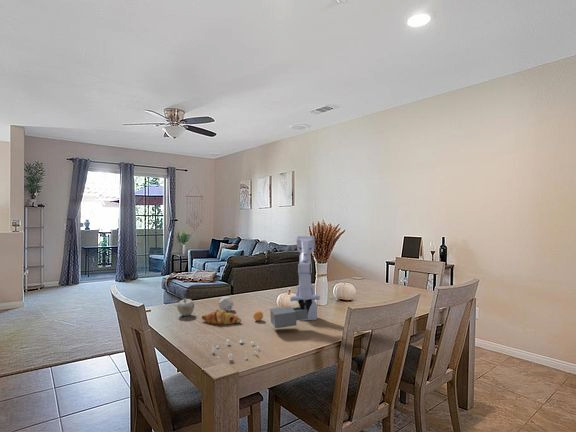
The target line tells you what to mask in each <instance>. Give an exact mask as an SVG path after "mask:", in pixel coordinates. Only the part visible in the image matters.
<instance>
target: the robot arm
mask: <svg viewBox="0 0 576 432" xmlns="http://www.w3.org/2000/svg"><path fill="white" fill-rule="evenodd" d="M315 241H316V239H315V236H314V235H297V236H296V249H297V252H298V253H299V263H298V264H297V266H298V267H297V273H298V285H297V286H296V293H295V295H294V296H289V301H290V302H297V303H298V307H300V308H301V310H303V309H305V308H306V309H307V313H308V319H304V320H299V321H302V322H303V321H314V320H318V306H317V302H316V300H317V301H319V300H321V295H319V294H315V292H316V289H315V285H313V284H312V271H313V269H312V268H313V267H312V266H313V265H312V255H311V254H312V253H314V251H315Z"/></svg>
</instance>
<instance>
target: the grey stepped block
mask: <svg viewBox="0 0 576 432" xmlns="http://www.w3.org/2000/svg"><path fill="white" fill-rule="evenodd" d="M269 312H270V313H269V314H270V323H271V324H272V326H273V327H274V329H281V328H287V327H294V326H297V325H298V324H297V321H300V320H303V321H305V320H304V319H308V313H307V309H306V308H305V309H303V310H301V308H300V307H299V306H297V307H296V306H295V307H292V306H290V305H289V306H281V307H274V308H270V310H269Z"/></svg>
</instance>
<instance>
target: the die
mask: <svg viewBox="0 0 576 432" xmlns="http://www.w3.org/2000/svg"><path fill="white" fill-rule="evenodd" d="M217 304H218V307H219V310H224V311H226V312H231V311H232V309H233V307H234V305H235V304H234V301H233V299H232V296H222V297H221V298H220V300H219V302H218V303H217Z"/></svg>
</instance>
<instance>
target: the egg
mask: <svg viewBox="0 0 576 432" xmlns="http://www.w3.org/2000/svg"><path fill="white" fill-rule="evenodd" d="M263 318H264V313H263V312H262V311H261V310H256V311H254V312H253V319H254V320H255V321H256V322H257V321H259V322H260V321H261V320H263Z"/></svg>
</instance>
